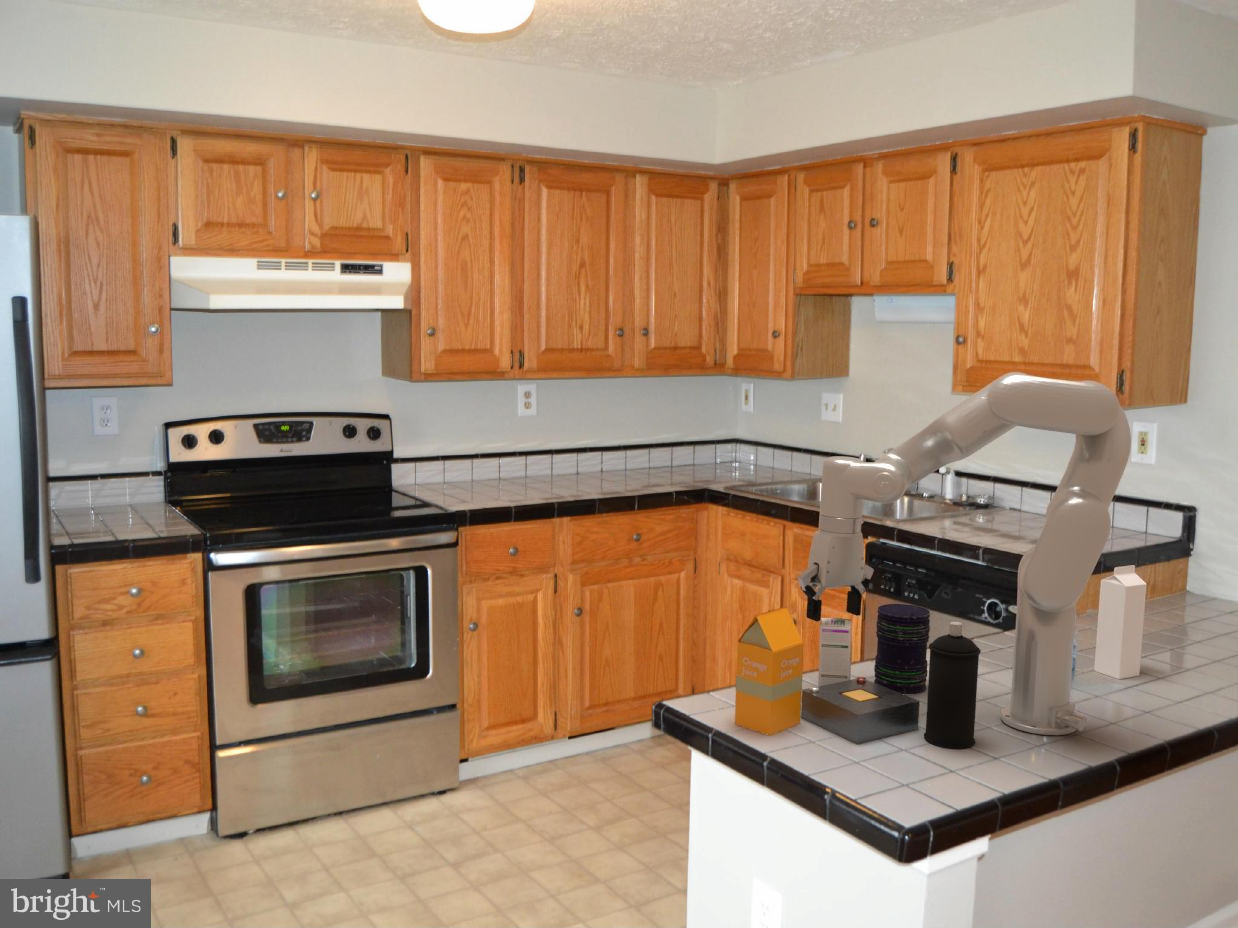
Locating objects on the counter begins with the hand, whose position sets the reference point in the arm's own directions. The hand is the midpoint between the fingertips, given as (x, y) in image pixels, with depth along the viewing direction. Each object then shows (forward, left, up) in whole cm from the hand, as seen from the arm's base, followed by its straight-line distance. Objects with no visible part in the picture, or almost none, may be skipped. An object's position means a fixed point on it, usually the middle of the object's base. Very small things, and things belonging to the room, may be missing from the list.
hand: (833, 616), depth 198 cm
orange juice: (-5, +19, -16) cm, 25 cm away
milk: (-16, -61, -16) cm, 65 cm away
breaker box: (-12, +5, -15) cm, 20 cm away
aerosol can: (-25, -3, -16) cm, 30 cm away
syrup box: (0, 0, -16) cm, 16 cm away
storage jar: (-1, -16, -16) cm, 23 cm away
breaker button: (-12, +5, -13) cm, 19 cm away
